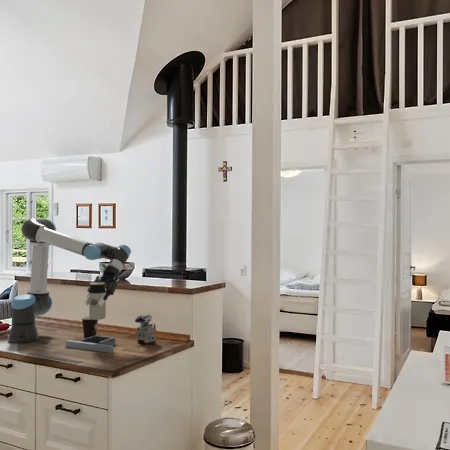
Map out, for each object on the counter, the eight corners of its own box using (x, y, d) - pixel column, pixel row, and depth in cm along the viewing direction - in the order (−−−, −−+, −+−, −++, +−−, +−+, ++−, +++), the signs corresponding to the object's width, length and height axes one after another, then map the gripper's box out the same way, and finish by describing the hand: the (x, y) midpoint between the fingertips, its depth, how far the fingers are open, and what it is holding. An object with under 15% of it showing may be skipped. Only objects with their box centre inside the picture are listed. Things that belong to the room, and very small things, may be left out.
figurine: (129, 345, 254) (129, 315, 254) (144, 340, 264) (145, 312, 264) (143, 347, 249) (143, 317, 249) (158, 343, 259) (158, 314, 259)
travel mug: (97, 316, 258) (97, 281, 258) (108, 317, 254) (108, 282, 254) (85, 319, 251) (85, 283, 251) (97, 320, 247) (97, 284, 247)
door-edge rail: (65, 346, 250) (65, 340, 250) (68, 345, 252) (68, 340, 252) (110, 352, 238) (110, 346, 238) (113, 351, 240) (113, 345, 240)
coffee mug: (88, 338, 269) (88, 320, 269) (78, 336, 274) (78, 318, 274) (105, 335, 278) (105, 317, 278) (95, 332, 283) (95, 315, 283)
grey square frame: (79, 347, 249) (79, 340, 249) (95, 342, 261) (95, 335, 261) (99, 349, 244) (99, 342, 244) (115, 344, 255) (115, 337, 255)
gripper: (132, 275, 262) (113, 310, 247) (100, 273, 271) (80, 307, 256) (126, 265, 257) (106, 301, 243) (94, 264, 266) (73, 298, 251)
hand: (93, 304), depth 249 cm, fingers closed on travel mug, 8 cm apart
